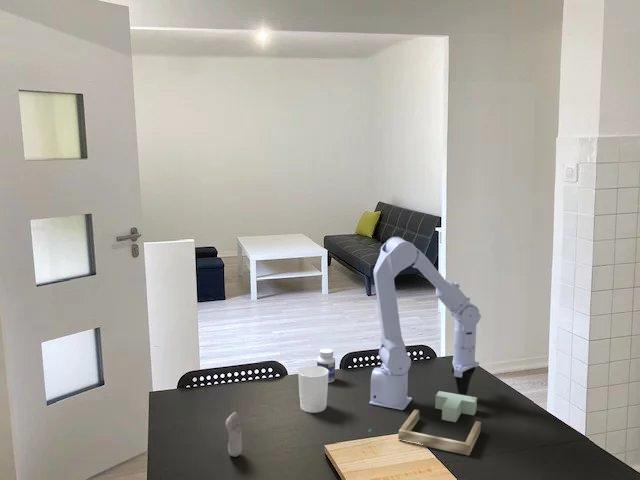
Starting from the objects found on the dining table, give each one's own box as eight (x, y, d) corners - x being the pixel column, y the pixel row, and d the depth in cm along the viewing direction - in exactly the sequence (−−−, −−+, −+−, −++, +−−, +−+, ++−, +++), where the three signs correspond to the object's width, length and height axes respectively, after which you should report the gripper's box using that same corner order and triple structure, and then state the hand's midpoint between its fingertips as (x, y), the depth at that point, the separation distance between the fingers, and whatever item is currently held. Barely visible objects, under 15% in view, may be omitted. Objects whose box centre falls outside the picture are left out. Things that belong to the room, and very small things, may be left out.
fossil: (227, 448, 139) (226, 406, 138) (242, 448, 139) (242, 406, 138) (225, 461, 133) (224, 418, 132) (241, 461, 134) (241, 417, 132)
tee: (429, 417, 156) (429, 404, 155) (438, 403, 164) (439, 390, 164) (468, 424, 151) (469, 411, 151) (476, 410, 160) (477, 397, 159)
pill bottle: (330, 384, 177) (330, 354, 176) (314, 381, 179) (314, 352, 178) (337, 378, 182) (338, 349, 180) (321, 375, 184) (321, 346, 182)
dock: (398, 440, 143) (398, 430, 143) (414, 418, 155) (414, 409, 155) (469, 455, 136) (469, 445, 136) (480, 431, 148) (480, 421, 148)
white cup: (325, 415, 157) (325, 377, 155) (295, 412, 158) (294, 375, 157) (330, 402, 164) (331, 366, 163) (302, 400, 166) (302, 364, 164)
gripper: (474, 355, 157) (472, 406, 159) (484, 339, 170) (482, 386, 172) (446, 352, 160) (445, 401, 162) (459, 336, 173) (457, 382, 175)
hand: (462, 393), depth 167 cm, fingers closed
